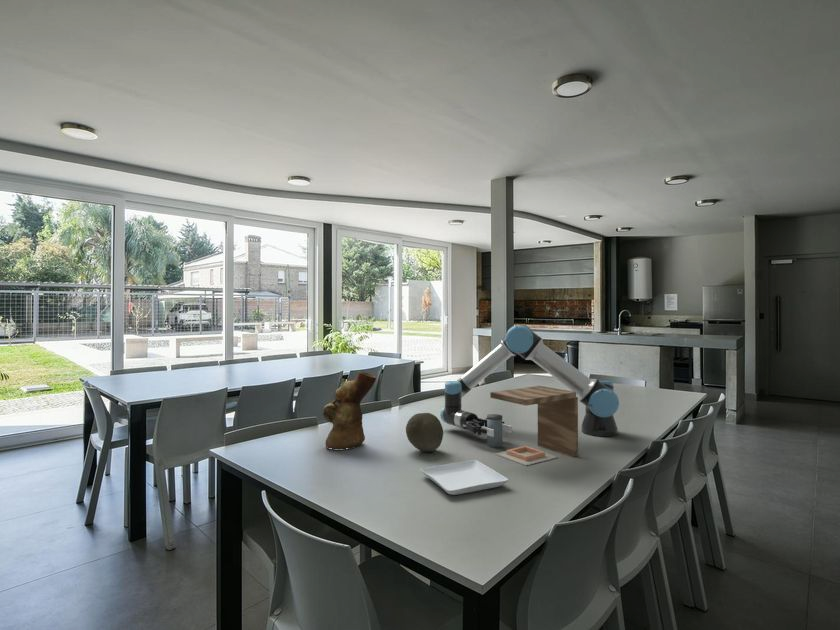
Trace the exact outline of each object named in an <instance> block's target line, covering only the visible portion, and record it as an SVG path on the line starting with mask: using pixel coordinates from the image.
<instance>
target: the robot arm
mask: <svg viewBox="0 0 840 630" xmlns="http://www.w3.org/2000/svg"><path fill="white" fill-rule="evenodd" d="M517 355H518V356H520V357H521V358H522V359H524V360H525V361H526V360H527V361H529V360H530V361H533V363H535V364H536V365H537V366H538V367H540V368H542V369H543V370H544V371H545V372H547V373H548V374H549V375H550V376H552V377H554V378H555V379H556V380H557V381H558V382H560V383H561V384H563V385H564V386H565V387H566V388H568V389H569V391H572V392H576V396H577V397H578V402H580V403H582V404H583V405H584V407H585V414H584V418H583V419H582V420H583V421H582V424H581V432H582V433H583V434H585V435H590V436H596V437H614V436H615V437H616V436H617V435H618V434H619V428H618V426H617V422H616V420H615V416H614V415H615V414H616V412H617V411H618V410H619V406H620V400H619V398H618V395H617V393H615V391H614V388H615V387H614V382H613V381H610V380H598V379H597V378H590V377H588V376H587V375H585V374H584V372H581V371H580V370H579V369H578V368H576V367H575V366H573V365H572V364H571V363H569V361H567V360H566V359H565V358H563V357H561V356H560V355H559V354H557V353H556V352H555V351H554V350H552V349H551V348H549V347H548V346H547V345H545V344H544V341H543V338H542V337H541V336H539V335H538V334H536V333H535V332H534V331H533V330H532V328H530V327H529V326H527V325H525V324H517V325H516V324H515V325H513V326H511V327H510V328H509V329H508V330H507V331H506V334H505V336H504V337H503V338H502V339H501V340H500V343H499V344H498V345H497V346H496V347H495V348H494V349H492V350H491V351H490V352H489V353H488V354H487V355H485V356H484V357H483V358H482V359H481V360H479V361H478V363H477V362H476V363H475V365H474V366H472V367H471V368H470V369H469V370H468V371H467V372H465V373H464V374H463V375H462V376H461V377H459V378H458V379H457V380H451V381H446V382H445V383H444V407H443V408H442V409H441V412H440V419H441V421H442V422H444V423H446V424H447V425H451V426H453V427H454V426H455V427H458V428H460V429H461V430H466V431H469V432H470V433H472V434H477V435H478V436H481V435H482V434H483V435H486V436H487V435H488V436H491V437H494V430H493V429H490V428H487V417H486V418H485V419H483V418H480V417H479V416H478V415H477V414H476V413H474V412H470V411H468V410H467V411H466V410H463V409H462V405H463V404H462V398H463V397H465V395H467V394H468V393H469V392H470V391H471V390H473V389H474V388H475V387H476V386H477V385H478V384H480V383H481V382H482V381H484V379H486V378H487V377H488V376H490V374H492V373H493V372H494V371H495V370H496V369H498V368H499V367H500V366H501V365H502V364H504V363H505V362H506V361H508V360H509V358H511V357H513V356H514V357H516V356H517ZM502 432H506V433H509V434H512V433H513V425H508V424H505V421H502Z"/></svg>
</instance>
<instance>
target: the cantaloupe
mask: <svg viewBox="0 0 840 630" xmlns="http://www.w3.org/2000/svg"><path fill="white" fill-rule="evenodd" d="M405 434H406V438H407V440H408V441H409V443H410V444H411V446H413V447H414V448H416V449H417V450H418V451H421V452H423V453H424V452H425V453H432V452H433V451H436V450H437V449H438V448H439V447H440V446H441V444H442V442H443V438H444V428H443V425H442V423H441V421H440V419H439V418H438V417H437V416H436V415H434V414H433V413H430V412H419V413H415V414H413V415H412V416H411V417H410V418H409V419H408V421H407V423H406V425H405Z"/></svg>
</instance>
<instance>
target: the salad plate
mask: <svg viewBox="0 0 840 630" xmlns="http://www.w3.org/2000/svg"><path fill="white" fill-rule="evenodd" d="M420 471H421V473H422V474H423V475H424V476H425V477H426V478H428V479H429V480H431V481H432V482H433V483H435V484H436V485H437V486H439V487H440V488H441V489H442V490H444V492H445V493H447V494H448V495H451V496H455V495H456V496H457V495H464V494H468V493H469V494H470V493H474V492H479V491H484V490H488V489H489V490H490V489H493V488H498V487H501V486H503V485H505V484H506V483H508V481H509V478H508V477H506V476H504V475H502V474H500V473H499V472H498V471H497V470H496V471H495V470H494V469H492V468H491V467H489V466H487V465H485V464H484V463H482V462H480V461H479V460H477V459H470V460H463V461H458V462H452V463H451V462H450V463H447V464H446V463H444V464H440V465H433V466H429V467H428V466H427V467H424V468H420Z"/></svg>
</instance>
